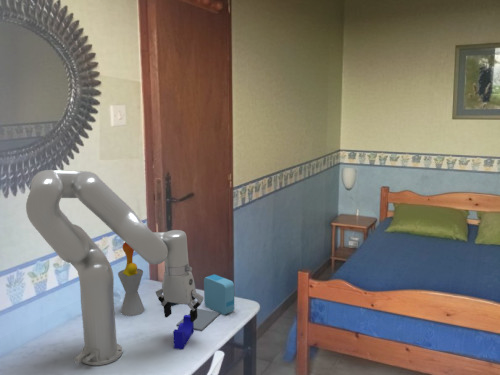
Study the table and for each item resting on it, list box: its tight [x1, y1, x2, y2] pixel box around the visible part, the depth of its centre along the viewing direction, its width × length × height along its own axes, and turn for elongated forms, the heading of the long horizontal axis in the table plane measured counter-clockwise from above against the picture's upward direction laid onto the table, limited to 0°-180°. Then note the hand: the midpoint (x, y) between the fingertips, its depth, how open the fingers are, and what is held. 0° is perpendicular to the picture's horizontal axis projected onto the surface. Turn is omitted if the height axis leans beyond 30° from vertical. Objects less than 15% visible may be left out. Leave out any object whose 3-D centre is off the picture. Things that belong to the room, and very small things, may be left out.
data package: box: [203, 273, 235, 316], centre depth 187 cm, size 12×4×12 cm, turn 45°
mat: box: [175, 308, 221, 332], centre depth 179 cm, size 14×10×1 cm
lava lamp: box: [117, 241, 145, 317], centre depth 184 cm, size 9×9×35 cm
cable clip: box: [172, 314, 195, 350], centre depth 165 cm, size 12×4×6 cm, turn 170°
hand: (180, 317), depth 165 cm, fingers open, 9 cm apart
